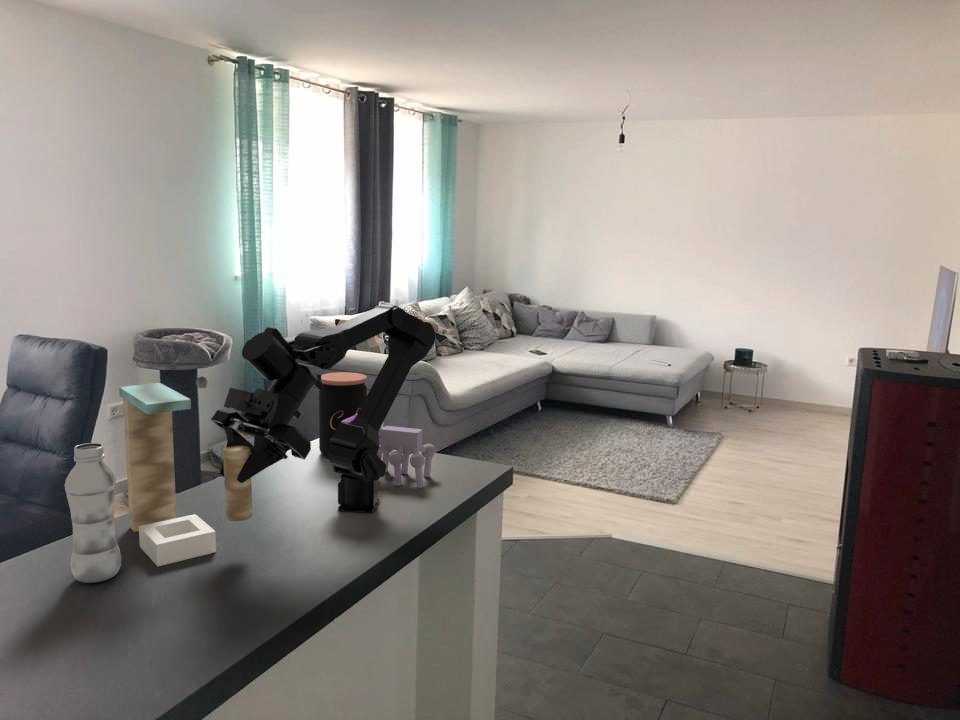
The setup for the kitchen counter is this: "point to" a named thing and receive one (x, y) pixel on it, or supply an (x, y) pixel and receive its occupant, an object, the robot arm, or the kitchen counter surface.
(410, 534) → the kitchen counter surface
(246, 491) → the peg
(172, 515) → the tall textured pillar
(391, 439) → the toy sheep
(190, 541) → the socket
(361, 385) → the coffee jar
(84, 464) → the plastic bottle
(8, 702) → the kitchen counter surface
